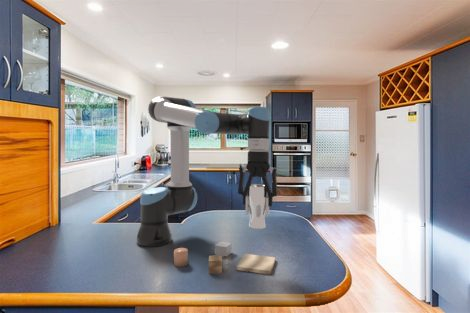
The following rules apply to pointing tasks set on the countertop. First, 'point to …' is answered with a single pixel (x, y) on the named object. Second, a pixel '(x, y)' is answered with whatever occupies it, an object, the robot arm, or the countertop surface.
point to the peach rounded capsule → (180, 257)
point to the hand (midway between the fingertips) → (257, 214)
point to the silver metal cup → (257, 205)
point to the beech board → (256, 264)
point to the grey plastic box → (223, 248)
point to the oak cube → (215, 264)
